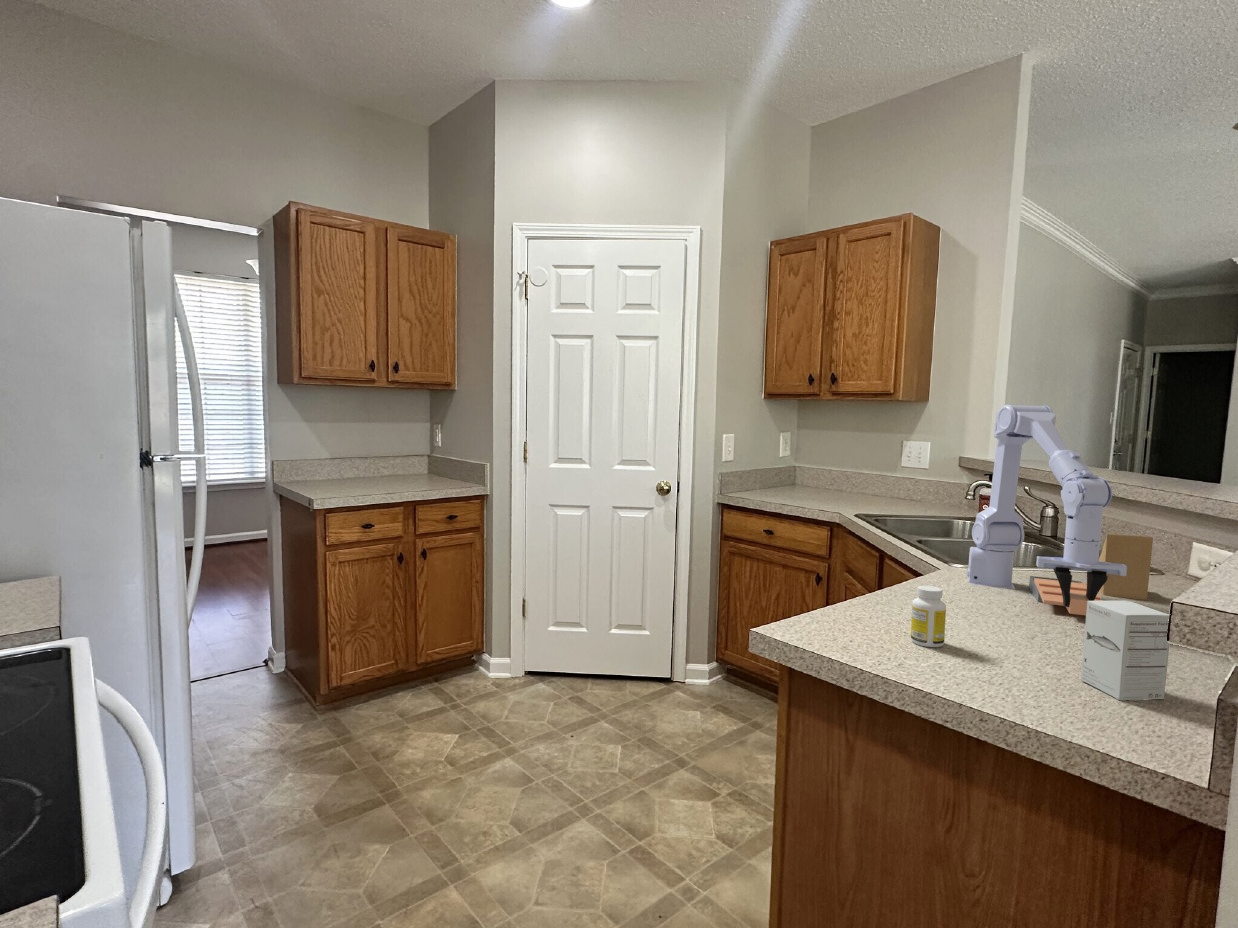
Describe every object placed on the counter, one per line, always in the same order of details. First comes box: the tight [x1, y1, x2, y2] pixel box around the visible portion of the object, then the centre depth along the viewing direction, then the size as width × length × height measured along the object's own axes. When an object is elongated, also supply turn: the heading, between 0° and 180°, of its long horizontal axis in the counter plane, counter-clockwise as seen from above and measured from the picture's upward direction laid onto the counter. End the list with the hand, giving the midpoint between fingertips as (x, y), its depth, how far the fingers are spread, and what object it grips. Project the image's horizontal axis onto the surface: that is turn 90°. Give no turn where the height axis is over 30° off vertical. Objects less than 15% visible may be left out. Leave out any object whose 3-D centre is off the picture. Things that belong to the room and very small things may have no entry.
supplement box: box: [1080, 600, 1171, 701], centre depth 98 cm, size 7×7×13 cm
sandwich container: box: [1098, 533, 1154, 601], centre depth 156 cm, size 9×15×15 cm, turn 155°
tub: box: [1028, 575, 1083, 604], centre depth 147 cm, size 10×13×4 cm
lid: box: [1034, 578, 1103, 616], centre depth 137 cm, size 11×18×3 cm, turn 155°
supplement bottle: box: [910, 585, 947, 648], centre depth 117 cm, size 5×5×10 cm
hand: (1077, 606), depth 131 cm, fingers closed on lid, 3 cm apart
